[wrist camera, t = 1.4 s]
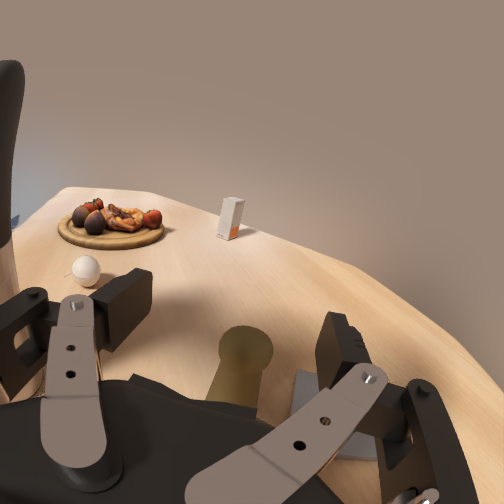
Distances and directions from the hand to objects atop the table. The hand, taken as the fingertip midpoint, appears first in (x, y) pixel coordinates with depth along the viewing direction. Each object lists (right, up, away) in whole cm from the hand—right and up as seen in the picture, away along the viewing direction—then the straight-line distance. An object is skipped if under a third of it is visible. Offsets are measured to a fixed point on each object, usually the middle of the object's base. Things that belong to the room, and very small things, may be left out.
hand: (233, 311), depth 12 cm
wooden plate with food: (-40, +9, +59) cm, 72 cm away
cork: (-2, -15, +17) cm, 23 cm away
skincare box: (-7, +7, +73) cm, 74 cm away
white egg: (-30, -4, +31) cm, 43 cm away
